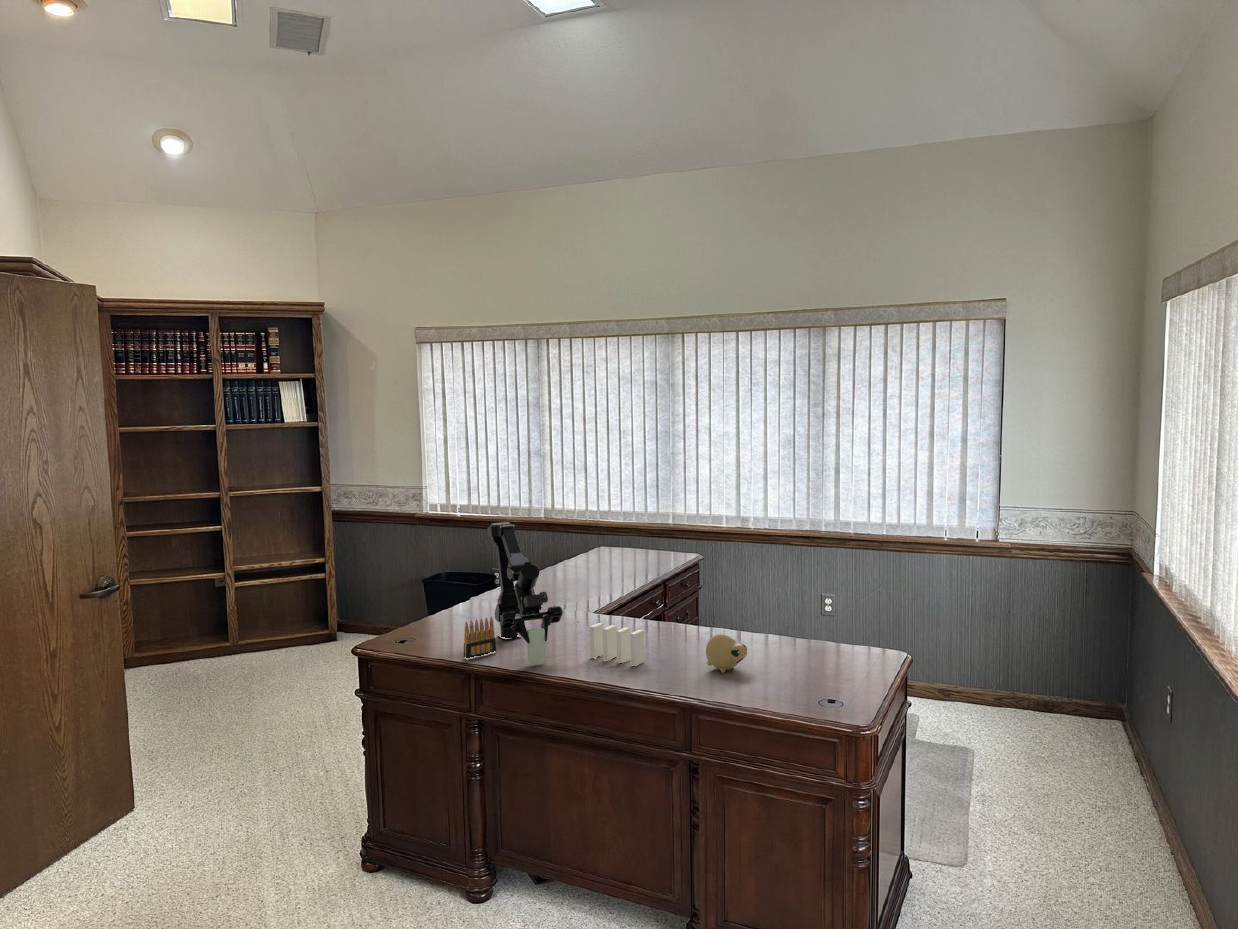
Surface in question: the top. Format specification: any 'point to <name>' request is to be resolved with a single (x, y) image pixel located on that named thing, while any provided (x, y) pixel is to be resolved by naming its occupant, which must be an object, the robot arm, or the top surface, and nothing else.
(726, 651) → the beige round figure
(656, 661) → the top surface
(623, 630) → the domino
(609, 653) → the domino
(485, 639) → the ammunition clip
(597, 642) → the domino
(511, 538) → the robot arm
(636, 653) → the domino
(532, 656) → the domino
